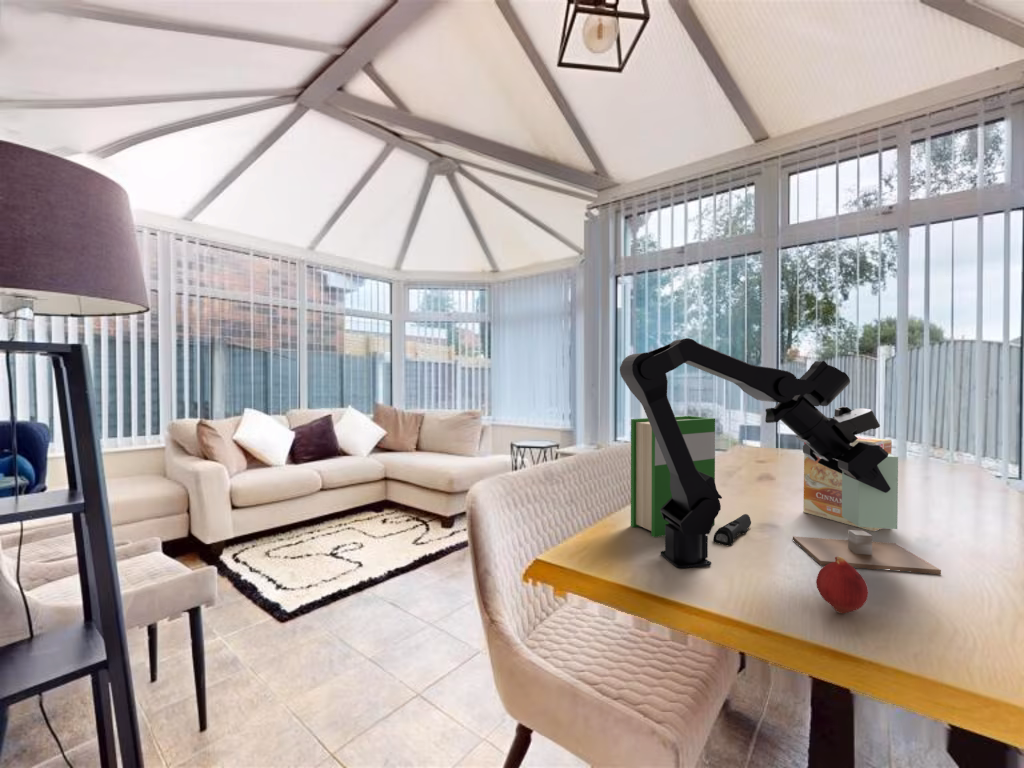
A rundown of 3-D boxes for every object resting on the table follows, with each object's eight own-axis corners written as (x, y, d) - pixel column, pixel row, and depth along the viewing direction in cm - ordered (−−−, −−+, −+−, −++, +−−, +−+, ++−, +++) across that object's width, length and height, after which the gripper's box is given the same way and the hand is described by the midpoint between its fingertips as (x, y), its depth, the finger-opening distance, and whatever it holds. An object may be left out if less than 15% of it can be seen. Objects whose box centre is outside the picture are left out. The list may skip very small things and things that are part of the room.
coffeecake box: (802, 512, 107) (802, 432, 107) (819, 508, 110) (820, 431, 110) (873, 532, 94) (874, 441, 93) (891, 527, 97) (892, 439, 96)
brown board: (820, 565, 78) (820, 541, 78) (792, 540, 89) (792, 519, 89) (940, 574, 74) (941, 549, 74) (895, 547, 86) (895, 525, 86)
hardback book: (654, 537, 91) (655, 422, 91) (630, 526, 98) (630, 419, 98) (714, 524, 99) (715, 418, 98) (688, 515, 106) (689, 415, 105)
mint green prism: (858, 526, 77) (859, 455, 77) (841, 516, 83) (842, 450, 82) (897, 529, 76) (898, 456, 75) (877, 518, 81) (878, 451, 81)
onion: (845, 601, 65) (845, 548, 65) (878, 623, 60) (879, 565, 59) (807, 602, 65) (807, 549, 65) (837, 624, 59) (837, 566, 59)
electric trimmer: (756, 529, 97) (756, 515, 97) (731, 548, 86) (731, 532, 86) (737, 525, 100) (738, 511, 100) (711, 543, 89) (711, 527, 89)
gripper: (874, 395, 70) (956, 467, 68) (820, 391, 89) (883, 447, 86) (818, 443, 72) (896, 514, 70) (777, 429, 91) (837, 485, 88)
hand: (877, 486), depth 79 cm, fingers closed on mint green prism, 6 cm apart
